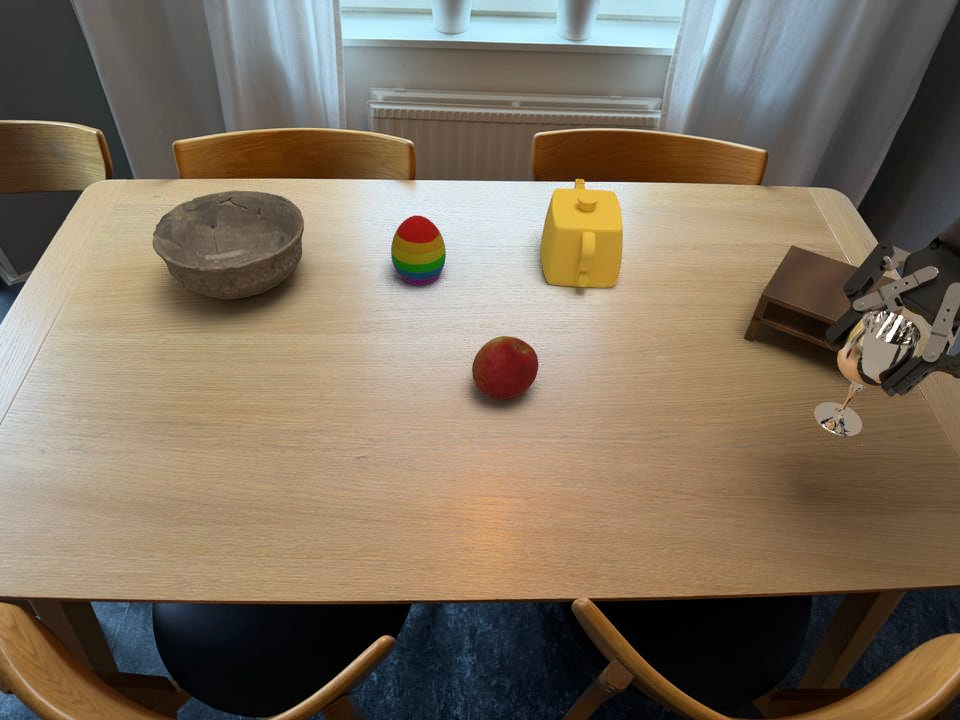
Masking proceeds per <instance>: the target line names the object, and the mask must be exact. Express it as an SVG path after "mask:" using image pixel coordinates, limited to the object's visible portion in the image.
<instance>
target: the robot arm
mask: <svg viewBox="0 0 960 720" xmlns="http://www.w3.org/2000/svg"><path fill="white" fill-rule="evenodd" d="M901 266H903V268H902V275H901V278H900V279H896V280H897V281H894V282H892V283H889V284H887V285H885V286H882V287H880V288H879V289H878V291H876V292H874V293H871V294H869V295H867V294H868V293H869V292H870V290H871V289H872V288H873V287H874V285H875V284H876V283H877V282H878V280H879V279H880V278H881V277H882V276H884V275H885V273H886V272H892V271H895V269H896V268H898V267H901ZM858 267H859V268H858V269H857V270H856V272H855V273H854V274H853V275H852V277H851V278H850V279H849V280H848V282H847V283H846V284H845V285H844V287H843V291H844V293H845V294H846V296H847V298H848V299H849V301H850V303H851V306H850V308H849V310H848V311H847V312H846V313H845V314H843V315H842V316H841V317H840V318H839V319H838V320H837V321H836V322H835V323H834V324H833V325H832V326H830V327H829V328H828V330H827V332H826V336H827V338H826V339H825V341H824V342H825V343H826V345H827V346H828V347H829V348H830V349H832V350H833V351H832V350H831V351H832V352H835V351H837V350H838V349H839V347H840V345H841V343H842V341H843V339H844V338H845V336H846V335H847V333H848V332H849V331H850V330H851V328H852V327H853V326H854V325H855V324H856V323H857V322H858V321H859V320H860V319H861V318H862V317H863V316H864V315H865V314H866V313H868V312H871V311H877V310H880V311H889V312H895V311H897V310H900V309H902V308H903V309H906V310H907V311H909V312H910V313H911V314H914V315H917V316H920V317H922V318H923V319H924V320H925V322H926V323H927V324H928V325H930V326H931V328H930V334H929V337H928V340H927V342H926V345H925V346H924V349H923V351H922V353H921V355H919V356H917V355H916V356H914V357H913V358H912V359H910V360H909V361H908V362H907V363H906V364H905V365H904V366H902V367H901V368H900V369H899V370H898V371H897V372H895V373H894V374H893V375H892V376H891V377H890V378H889V379H887V380H886V381H885V382H884V383H883V384H882V386H881V388H882V389H881V390H882V392H884V393H885V394H886V395H888V396H889V397H890V398H892V397H894V396H895V395H899V396H902V397H903V396H905V395H907V394H909V393H910V392H912V390H913V389H914V388H916V387H917V386H918V385H920V383H922V381H924V380H925V379H926V378H928V377H929V376H930V375H931V374H933V373H936V372H940V373H941V372H942V373H944V374H947V375H950V376H952V377H953V378H954V379H958V380H959V379H960V351H959V352H958V353H955V354H954V355H951V354H949V352H950V350H951V348H953V346H954V344H955V342H956V339H957V337H958V334H959V332H960V214H958V215H957V217H955V218H954V219H953V220H952V221H951V222H950V223H949V224H948V225H946V227H944V228H943V229H942V230H941V231H940V232H939V233H937V235H936V236H935V237H934V238H933V239H932V240H931V241H930V243H928V244H927V245H926V246H925V247H922V248H921V249H917V250H915V251H913V252H909V251H906V250H903V249H902V248H900V247H897V246H895V245H894V243H893V241H892V240H891V239H888V238H885V239H882V240H880V241H879V242H878V243H877V244H876V245H875V247H874V248H873V249H872V251H871V252H870V253H869V254H868V255H867V257H866V258H865V259H864V260H863V262H861V264H860V265H859V266H858ZM830 349H829V350H830Z"/></svg>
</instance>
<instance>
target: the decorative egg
mask: <svg viewBox="0 0 960 720" xmlns="http://www.w3.org/2000/svg"><path fill="white" fill-rule="evenodd" d="M445 244H446V243H445V241H444V237H443V235H442V233H441V231H440V230H439V228H438V227H437V225H436V224H435V223H434V222H433V221H432V220H430V219H429V218H428V217H425V216H422V215H411V216H409V217H408V218H406V219H404V220H403V221H402V222H401V224H399V225H398V227H397V228H396V231H395V233H394V235H393V238H392V240H391V247H390V255H391V256H390V257H391V262H392V265H393V268H394V269H395V271H396V273H397V274H398V276H399V277H400V278H401V279H403V281H406V282H407V283H409V284H413V285H426V284H429V283H431V282H433V281H434V280H436V279H437V278H438V276H440V274H441V273H442V271H443V269H444V266H445V263H446V259H447V256H446V255H447V252H446V245H445Z"/></svg>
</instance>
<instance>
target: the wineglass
mask: <svg viewBox="0 0 960 720" xmlns="http://www.w3.org/2000/svg"><path fill="white" fill-rule="evenodd" d="M920 342H921V331H920V329H919V327H918V326H917V325H916V324H915V322H913V321H912V320H910V319H909V318H907V317H906V316H903V315H902V314H901V315H899V314H896V313H893V312H889V311H880V310H877V311H871V312H868V313H866V314H865V315H864V316H863V317H862V318H861V319H860V320H859V321H858V322H857V323H856V324H855V325H854V326H853V327H852V328H851V330H850V331H849V332H848V333H847V335H846V336H845V338H844V339H843V341H842V343H841V345H840V347H839V350H838V352H837V353H836V355H837V356H836V362H837V366H838V369H839V371H840V373H841V374H842V376H843V377H844V378H845V379H847V381H849V382H850V383H851V384H850V385H849V391H848V394H847V397H846V399H845V400H844V402H843V403H839V402H835V401H824V402H821V403H819V404H818V405H816V406H815V407H814V410H813V416H814V419H815V421H816V423H818V425H819V426H820V427H822V428H823V429H824V430H825V431H827V432H829V433H831V434H833V435H835V436H836V435H837V436H841V437H854V436H856V435H858V434H859V433H860V432H861V431H862V429H863V421H862V418H861V417H860V415H858V413H857V412H856V411H855V410H853V409H852V408H851V407H849V406H850V404H851V402H852V401H853V399H854V398H855V397H856V396H858V394H859V393H860V392H861V391H862V390H863V389H868V390H882V388H881V386H882V384H883V383H884V382H885V381H886V380H887V379H889V378H890V377H891V376H892V375H893V374H894V373H895V372H897V371H898V370H899V369H900V368H901V367H902V366H904V365H905V364H906V363H907V362H908V361H909V360H910V359H912V358H913V357H914V356H917V353H918V348H919V346H920Z"/></svg>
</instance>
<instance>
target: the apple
mask: <svg viewBox="0 0 960 720" xmlns="http://www.w3.org/2000/svg"><path fill="white" fill-rule="evenodd" d="M539 367H540V366H539V358H538V354H537V353H536V350H535V349H534V348H533V347H532V346H531V345H530V344H528V343H527V342H526V341H524V340H522V339H520V338H518V337H515V336H509V335H501V336H497V337H494V338H492V339H490V340H489V341H487V342H486V343H484V344H483V345H482V346H481V348H480V349H479V350H478V351H477V353H476V354H475V356H474V358H473V361H472V366H471V373H472V379H473V381H474V384H475V386H476V387H477V389H478V390H479V391H480V393H482V394H483V395H485V396H487V397H489V398H492V399H494V400H501V401H502V400H508V399H513V398H516V397H518V396H521V395H522V394H523V393H525V392H526V391H528V390H529V388H530V387H531V386H532V385H533V384H534V382H535V380H536V378H537V376H538V371H539Z"/></svg>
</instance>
